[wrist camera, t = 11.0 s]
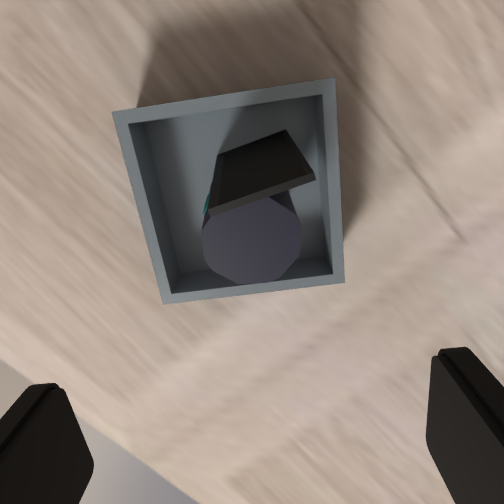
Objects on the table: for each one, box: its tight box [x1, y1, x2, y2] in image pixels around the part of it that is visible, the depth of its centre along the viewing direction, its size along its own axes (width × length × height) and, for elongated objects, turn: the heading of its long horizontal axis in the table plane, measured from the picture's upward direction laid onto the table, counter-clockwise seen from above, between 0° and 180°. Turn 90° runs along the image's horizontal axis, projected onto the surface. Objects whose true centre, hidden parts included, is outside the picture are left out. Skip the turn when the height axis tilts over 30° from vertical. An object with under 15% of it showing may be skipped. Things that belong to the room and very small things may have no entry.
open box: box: [112, 77, 345, 305], centre depth 25 cm, size 14×14×4 cm
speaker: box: [201, 129, 316, 284], centre depth 22 cm, size 8×6×10 cm
